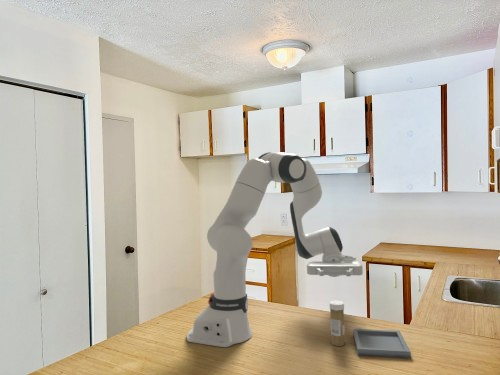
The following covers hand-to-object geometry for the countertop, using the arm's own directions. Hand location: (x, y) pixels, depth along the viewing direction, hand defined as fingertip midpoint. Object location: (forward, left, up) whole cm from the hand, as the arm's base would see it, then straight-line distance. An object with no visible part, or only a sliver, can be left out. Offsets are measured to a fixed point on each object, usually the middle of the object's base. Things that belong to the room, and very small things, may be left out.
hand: (334, 274), depth 131 cm
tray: (+13, -12, -19) cm, 26 cm away
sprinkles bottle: (0, -12, -20) cm, 23 cm away
